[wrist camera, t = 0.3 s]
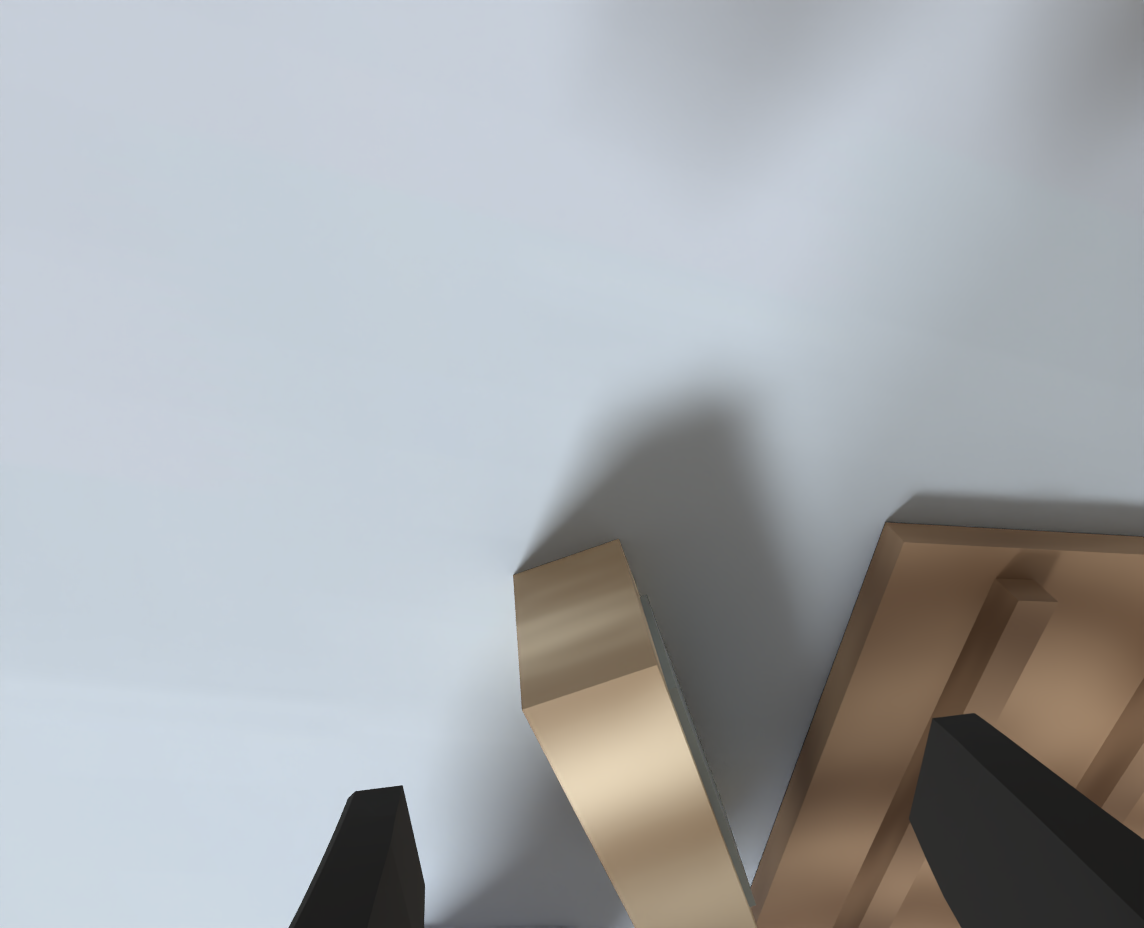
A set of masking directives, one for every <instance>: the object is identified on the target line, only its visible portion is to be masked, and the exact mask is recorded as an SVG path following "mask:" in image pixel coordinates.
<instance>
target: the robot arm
mask: <svg viewBox="0 0 1144 928" xmlns="http://www.w3.org/2000/svg"><path fill="white" fill-rule="evenodd" d="M909 821H910V823H911V825H912V827H913V830H914V832H915V834H916V837H917V839H918V841H919V844H920V846H921V848H922V851H923V853H924V855H925V857H926V860H927V862H928V864H929V866H930V868H931V871H932V873H933V875H934V877H935V879H936V881H937V883H938V886H939V888H940V890H941V892H942V894H943V896H944V898H945V900H946V902H947V904H948V905H949V907H950V909H951V911H952V912H953V914H954V916H955V918H956V919H957V921H958V923H959V925H960V926H961V928H1144V839H1143V838H1141V837H1140V836H1138V835H1137V834H1136V833H1134V832H1133V831H1132V830H1130V829H1129V828H1128V827H1126V826H1125V825H1123V824H1122V823H1121V822H1119V821H1118V820H1117V819H1115V818H1114V817H1113V816H1111V815H1110V814H1109V813H1107V812H1106V811H1104V810H1103V809H1102V808H1100V807H1099V806H1098V805H1096V804H1095V803H1094V802H1092V801H1091V800H1090V799H1088V798H1087V797H1086V796H1084V795H1083V794H1082V793H1080V792H1079V791H1078V790H1076V789H1075V788H1074V787H1073V786H1071V785H1070V784H1069V783H1067V782H1066V781H1065V780H1063V779H1062V778H1061V777H1059V776H1058V775H1057V774H1055V773H1054V772H1053V771H1051V770H1050V769H1049V768H1047V767H1046V766H1045V765H1044V764H1042V763H1041V762H1040V761H1038V760H1037V759H1036V758H1034V757H1033V756H1032V755H1030V754H1029V753H1028V752H1026V751H1025V750H1024V749H1022V748H1021V747H1020V746H1019V745H1017V744H1016V743H1015V742H1013V741H1012V740H1011V739H1009V738H1008V737H1007V736H1005V735H1004V734H1003V733H1001V732H1000V731H999V730H997V729H996V728H995V727H993V726H992V725H991V724H989V723H988V722H986V721H985V720H984V719H982V718H981V717H980V716H978V715H977V714H975V713H970V714H962V715H954V716H946V717H938V718H932V722H931V726H930V730H929V734H928V739H927V743H926V747H925V752H924V756H923V760H922V764H921V769H920V773H919V777H918V781H917V786H916V790H915V794H914V798H913V803H912V807H911V811H910V815H909ZM424 905H425V883H424V879H423V874H422V870H421V865H420V861H419V856H418V852H417V848H416V843H415V839H414V834H413V830H412V825H411V821H410V816H409V812H408V807H407V803H406V798H405V794H404V789H403V785H402V786H394V787H386V788H378V789H370V790H362V791H355V792H354V793H353V794H352V795H351V796H350V797H349V798H348V800H347V802H346V805H345V807H344V810H343V812H342V815H341V817H340V820H339V822H338V824H337V827H336V829H335V831H334V834H333V836H332V838H331V840H330V843H329V845H328V847H327V849H326V852H325V854H324V856H323V858H322V860H321V863H320V865H319V867H318V869H317V871H316V873H315V875H314V878H313V880H312V882H311V884H310V886H309V888H308V890H307V892H306V894H305V896H304V898H303V900H302V903H301V905H300V907H299V909H298V911H297V913H296V915H295V916H294V918H293V920H292V922H291V924H290V926H289V928H424Z"/></svg>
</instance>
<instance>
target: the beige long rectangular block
mask: <svg viewBox="0 0 1144 928" xmlns="http://www.w3.org/2000/svg"><path fill="white" fill-rule="evenodd" d="M513 580H514V595H515V610H516V626H517V641H518V656H519V671H520V687H521V702H522V711H523V713H524V715H525V717H526V718H527V720H528V722H529V724H530V726H531V728H532V730H533V732H534V734H535V736H536V738H537V740H538V742H539V744H540V745H541V747H542V749H543V751H544V753H545V755H546V757H547V759H548V761H549V763H550V765H551V767H552V769H553V771H554V772H555V774H556V776H557V778H558V780H559V782H560V784H561V786H562V788H563V790H564V792H565V794H566V796H567V798H568V799H569V801H570V803H571V805H572V807H573V809H574V811H575V813H576V815H577V817H578V819H579V821H580V823H581V825H582V826H583V828H584V830H585V832H586V834H587V836H588V838H589V840H590V842H591V844H592V846H593V848H594V850H595V852H596V853H597V855H598V857H599V859H600V861H601V863H602V865H603V867H604V869H605V871H606V873H607V875H608V877H609V879H610V880H611V882H612V884H613V886H614V888H615V890H616V892H617V894H618V896H619V898H620V900H621V902H622V904H623V906H624V907H625V909H626V911H627V913H628V915H629V917H630V919H631V921H632V923H633V925H634V927H635V928H757V925H756V922H755V919H754V916H753V913H752V910H751V907H752V906H755V905H756V903H755V900H754V897H753V894H752V891H751V888H750V885H749V882H748V879H747V876H746V873H745V870H744V867H743V864H742V861H741V858H740V855H739V852H738V849H737V846H736V843H735V840H734V837H733V834H732V831H731V828H730V825H729V822H728V819H727V816H726V813H725V811H724V808H723V805H722V802H721V799H720V796H719V793H718V791H717V788H716V785H715V782H714V779H713V777H712V774H711V771H710V768H709V766H708V763H707V760H706V757H705V755H704V752H703V749H702V746H701V744H700V741H699V738H698V735H697V733H696V730H695V727H694V724H693V722H692V719H691V716H690V713H689V711H688V708H687V705H686V702H685V699H684V697H683V694H682V691H681V688H680V686H679V683H678V680H677V677H676V675H675V672H674V669H673V666H672V664H671V661H670V658H669V655H668V653H667V650H666V647H665V644H664V642H663V639H662V636H661V633H660V630H659V628H658V625H657V622H656V619H655V617H654V614H653V611H652V608H651V606H650V603H649V600H648V597H647V595H645V596H642V597H640V595H639V592H638V589H637V587H636V584H635V581H634V578H633V576H632V573H631V570H630V568H629V565H628V562H627V559H626V557H625V554H624V551H623V549H622V546H621V543H620V540H619V539H617V540H614V541H611V542H608V543H605V544H602V545H599V546H596V547H593V548H590V549H588V550H585V551H582V552H579V553H576V554H573V555H570V556H567V557H564V558H561V559H558V560H556V561H553V562H550V563H547V564H544V565H541V566H538V567H535V568H532V569H529V570H526V571H524V572H521V573H518V574H515V575H513Z"/></svg>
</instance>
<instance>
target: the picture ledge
mask: <svg viewBox="0 0 1144 928" xmlns="http://www.w3.org/2000/svg"><path fill="white" fill-rule="evenodd" d="M970 713H975V714H977V715H978V716H980V717H981V718H982V719H984V720H985V721H986V722H988V723H989V724H991V725H992V726H993V727H995V728H996V729H997V730H999V731H1000V732H1001V733H1003V734H1004V735H1005V736H1007V737H1008V738H1009V739H1011V740H1012V741H1013V742H1015V743H1016V744H1017V745H1019V746H1020V747H1021V748H1022V749H1024V750H1025V751H1026V752H1028V753H1029V754H1030V755H1032V756H1033V757H1034V758H1036V759H1037V760H1038V761H1040V762H1041V763H1042V764H1044V765H1045V766H1046V767H1047V768H1049V769H1050V770H1051V771H1053V772H1054V773H1055V774H1057V775H1058V776H1059V777H1061V778H1062V779H1063V780H1065V781H1066V782H1067V783H1069V784H1070V785H1071V786H1073V787H1074V788H1075V789H1076V790H1078V791H1079V792H1080V793H1082V794H1083V795H1084V796H1086V797H1087V798H1088V799H1090V800H1091V801H1092V802H1094V803H1095V804H1096V805H1098V806H1099V807H1100V808H1102V809H1103V810H1104V811H1106V812H1107V813H1109V814H1110V815H1111V816H1113V817H1114V818H1115V819H1117V820H1118V821H1119V822H1121V823H1122V824H1123V825H1125V826H1126V827H1128V828H1129V829H1130V830H1132V831H1133V832H1134V833H1136V834H1137V835H1138V836H1140V837H1141V838H1143V839H1144V537H1138V536H1120V535H1102V534H1084V533H1066V532H1049V531H1031V530H1013V529H995V528H977V527H960V526H942V525H924V524H906V523H888V522H885V525H884V528H883V530H882V533H881V536H880V539H879V541H878V544H877V547H876V549H875V552H874V555H873V558H872V560H871V563H870V566H869V568H868V571H867V574H866V577H865V579H864V582H863V585H862V587H861V590H860V593H859V596H858V598H857V601H856V604H855V606H854V609H853V612H852V615H851V617H850V620H849V623H848V625H847V628H846V631H845V633H844V636H843V639H842V642H841V644H840V647H839V650H838V652H837V655H836V658H835V661H834V663H833V666H832V669H831V671H830V674H829V677H828V680H827V682H826V685H825V688H824V690H823V693H822V696H821V699H820V701H819V704H818V707H817V709H816V712H815V715H814V718H813V720H812V723H811V726H810V728H809V731H808V734H807V737H806V739H805V742H804V745H803V747H802V750H801V753H800V755H799V758H798V761H797V764H796V766H795V769H794V772H793V774H792V777H791V780H790V783H789V785H788V788H787V791H786V793H785V796H784V799H783V802H782V804H781V807H780V810H779V812H778V815H777V818H776V821H775V823H774V826H773V829H772V831H771V834H770V837H769V840H768V842H767V845H766V848H765V850H764V853H763V856H762V859H761V861H760V864H759V867H758V869H757V872H756V875H755V877H754V880H753V883H752V886H751V891H752V894H753V897H754V900H755V903H756V905H755V906H752V907H751V910H752V913H753V916H754V919H755V922H756V925H757V928H961V926H960V925H959V923H958V921H957V919H956V918H955V916H954V914H953V912H952V911H951V909H950V907H949V905H948V904H947V902H946V900H945V898H944V896H943V894H942V892H941V890H940V888H939V886H938V883H937V881H936V879H935V877H934V875H933V873H932V871H931V868H930V866H929V864H928V862H927V860H926V857H925V855H924V853H923V851H922V848H921V846H920V844H919V841H918V839H917V837H916V834H915V832H914V830H913V827H912V825H911V823H910V821H909V815H910V811H911V807H912V803H913V798H914V794H915V790H916V786H917V781H918V777H919V773H920V769H921V764H922V760H923V756H924V752H925V747H926V743H927V739H928V734H929V730H930V726H931V722H932V718H938V717H946V716H954V715H962V714H970Z"/></svg>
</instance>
